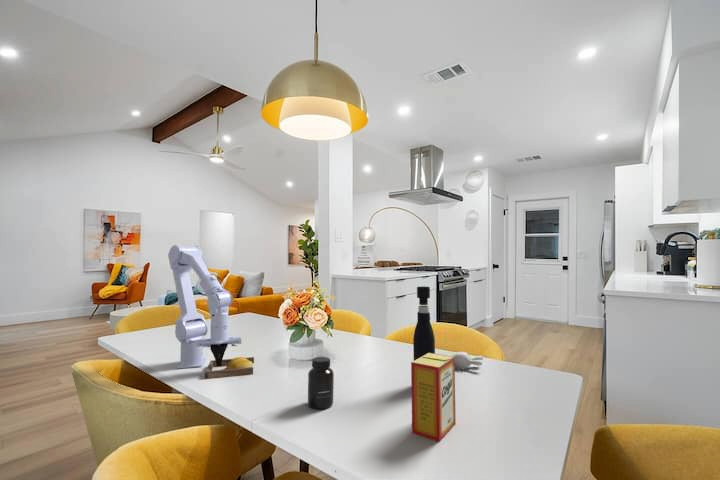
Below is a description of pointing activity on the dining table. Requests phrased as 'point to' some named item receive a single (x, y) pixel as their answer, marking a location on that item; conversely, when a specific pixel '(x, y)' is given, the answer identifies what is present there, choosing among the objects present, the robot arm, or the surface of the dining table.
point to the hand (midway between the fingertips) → (219, 366)
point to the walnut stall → (228, 372)
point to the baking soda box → (433, 395)
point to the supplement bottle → (320, 384)
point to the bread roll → (239, 363)
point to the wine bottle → (423, 326)
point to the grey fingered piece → (464, 360)
